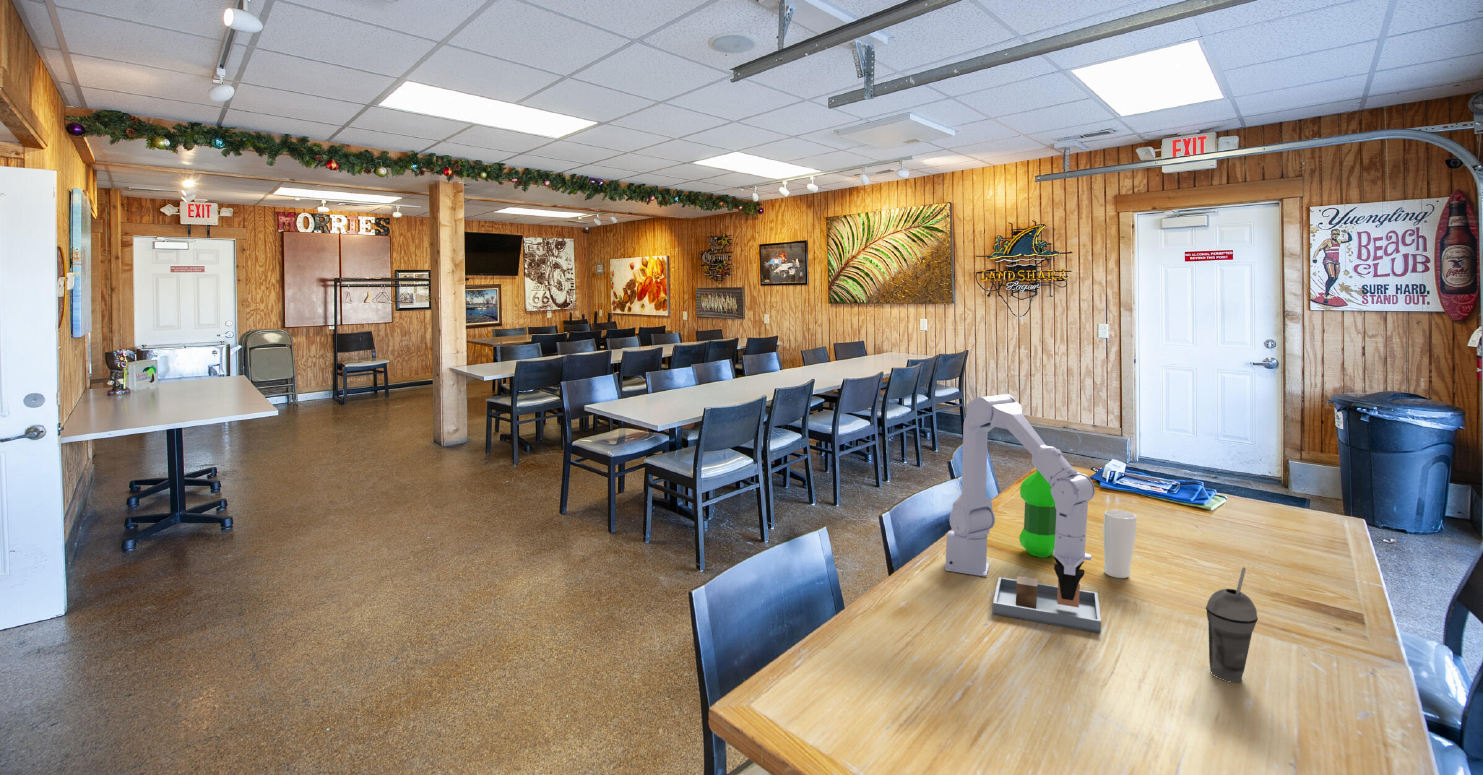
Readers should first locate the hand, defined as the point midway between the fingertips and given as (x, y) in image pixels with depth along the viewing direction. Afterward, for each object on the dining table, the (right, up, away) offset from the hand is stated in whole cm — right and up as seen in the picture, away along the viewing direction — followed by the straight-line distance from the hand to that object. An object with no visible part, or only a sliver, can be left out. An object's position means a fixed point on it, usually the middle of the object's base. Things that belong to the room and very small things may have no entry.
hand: (1067, 594), depth 139 cm
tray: (-4, -4, +2) cm, 6 cm away
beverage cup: (+16, -7, -23) cm, 29 cm away
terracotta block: (0, -2, 0) cm, 2 cm away
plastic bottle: (+9, 0, +32) cm, 33 cm away
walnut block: (-7, -3, +4) cm, 9 cm away
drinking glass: (+21, -1, +19) cm, 28 cm away
